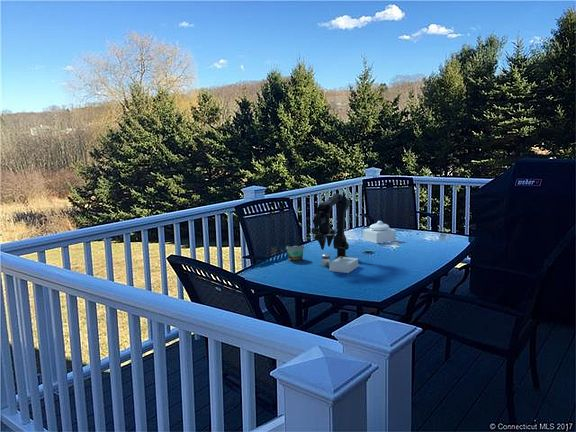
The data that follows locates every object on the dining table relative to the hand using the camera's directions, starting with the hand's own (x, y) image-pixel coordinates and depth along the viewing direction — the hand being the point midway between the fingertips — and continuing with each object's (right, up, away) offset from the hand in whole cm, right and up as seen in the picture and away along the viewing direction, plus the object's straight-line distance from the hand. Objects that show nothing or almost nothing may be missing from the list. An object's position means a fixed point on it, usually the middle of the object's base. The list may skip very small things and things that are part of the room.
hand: (325, 248), depth 291 cm
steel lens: (0, -11, +2) cm, 11 cm away
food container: (-18, -10, +16) cm, 26 cm away
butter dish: (+47, +1, +68) cm, 83 cm away
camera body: (+11, -12, -6) cm, 17 cm away
